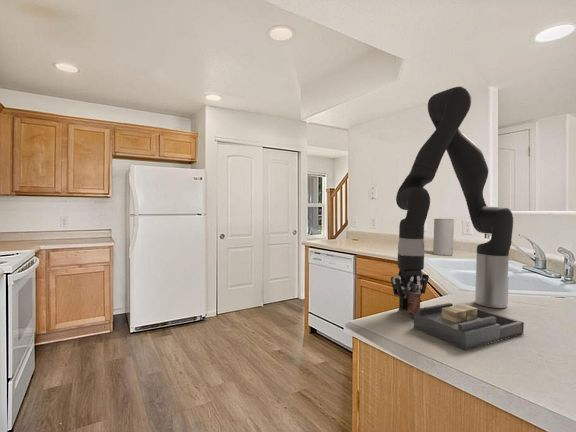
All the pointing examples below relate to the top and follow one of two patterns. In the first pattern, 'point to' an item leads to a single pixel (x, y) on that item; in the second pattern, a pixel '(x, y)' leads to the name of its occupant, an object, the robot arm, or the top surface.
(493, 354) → the top surface
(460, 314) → the chip
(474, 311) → the chip
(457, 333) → the slot block
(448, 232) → the cylinder vase
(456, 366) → the top surface
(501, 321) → the tray
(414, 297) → the lighter
